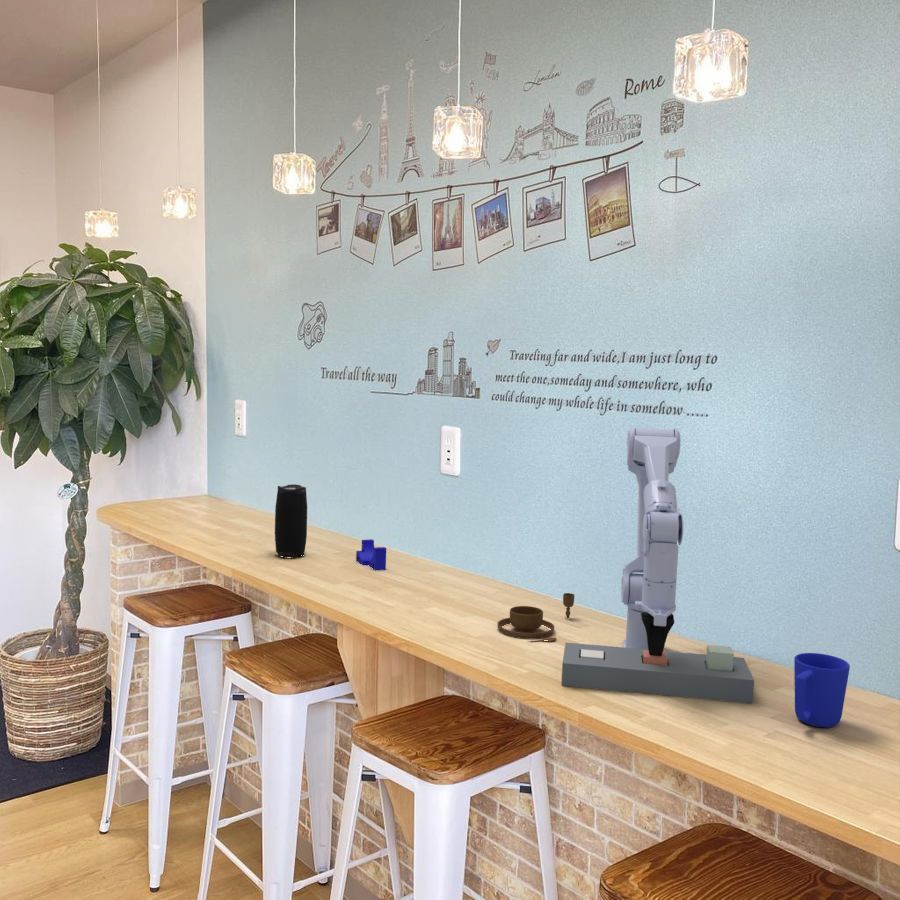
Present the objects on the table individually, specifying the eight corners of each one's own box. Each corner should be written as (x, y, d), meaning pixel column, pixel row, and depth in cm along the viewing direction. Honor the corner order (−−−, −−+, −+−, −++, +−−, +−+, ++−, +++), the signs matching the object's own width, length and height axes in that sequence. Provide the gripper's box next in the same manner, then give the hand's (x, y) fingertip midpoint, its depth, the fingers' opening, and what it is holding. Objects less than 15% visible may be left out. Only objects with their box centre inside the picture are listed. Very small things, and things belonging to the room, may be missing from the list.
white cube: (580, 670, 165) (581, 649, 164) (602, 672, 164) (603, 651, 164) (579, 678, 161) (580, 656, 161) (602, 680, 160) (603, 658, 160)
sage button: (705, 666, 161) (707, 644, 161) (729, 668, 160) (730, 646, 160) (708, 674, 157) (709, 651, 157) (732, 676, 156) (733, 653, 156)
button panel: (564, 663, 169) (565, 642, 169) (742, 679, 164) (743, 657, 164) (561, 685, 158) (562, 663, 157) (752, 703, 152) (754, 680, 152)
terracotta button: (642, 671, 163) (643, 649, 163) (664, 673, 162) (666, 651, 162) (642, 679, 159) (644, 656, 159) (666, 681, 158) (667, 659, 158)
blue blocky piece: (356, 561, 249) (356, 540, 248) (371, 560, 251) (372, 539, 250) (369, 571, 238) (370, 549, 237) (385, 570, 240) (386, 548, 239)
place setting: (484, 622, 196) (485, 595, 196) (569, 617, 202) (571, 591, 202) (513, 647, 180) (514, 618, 179) (604, 641, 185) (606, 613, 185)
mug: (769, 726, 143) (774, 664, 142) (803, 707, 151) (807, 649, 150) (821, 743, 137) (826, 678, 136) (853, 722, 145) (858, 662, 144)
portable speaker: (271, 558, 248) (272, 487, 246) (279, 551, 257) (280, 483, 255) (302, 560, 247) (303, 489, 245) (309, 552, 257) (310, 484, 255)
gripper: (635, 568, 167) (631, 640, 168) (637, 587, 153) (633, 665, 154) (674, 571, 166) (670, 643, 167) (680, 590, 151) (676, 669, 153)
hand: (655, 654), depth 160 cm, fingers closed, pressing on terracotta button
